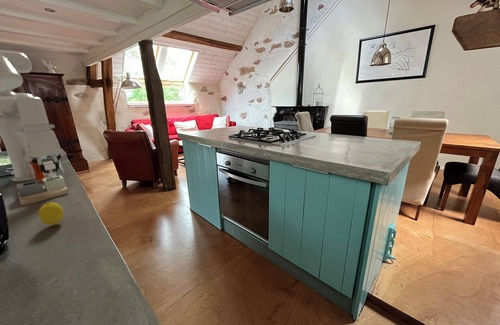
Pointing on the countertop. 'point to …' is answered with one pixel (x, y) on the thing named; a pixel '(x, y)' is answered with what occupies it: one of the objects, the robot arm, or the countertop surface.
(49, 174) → the light grey block
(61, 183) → the pale green hollow frame
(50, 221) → the lemon
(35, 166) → the toy drill
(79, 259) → the countertop surface
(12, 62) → the robot arm
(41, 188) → the block
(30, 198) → the board
